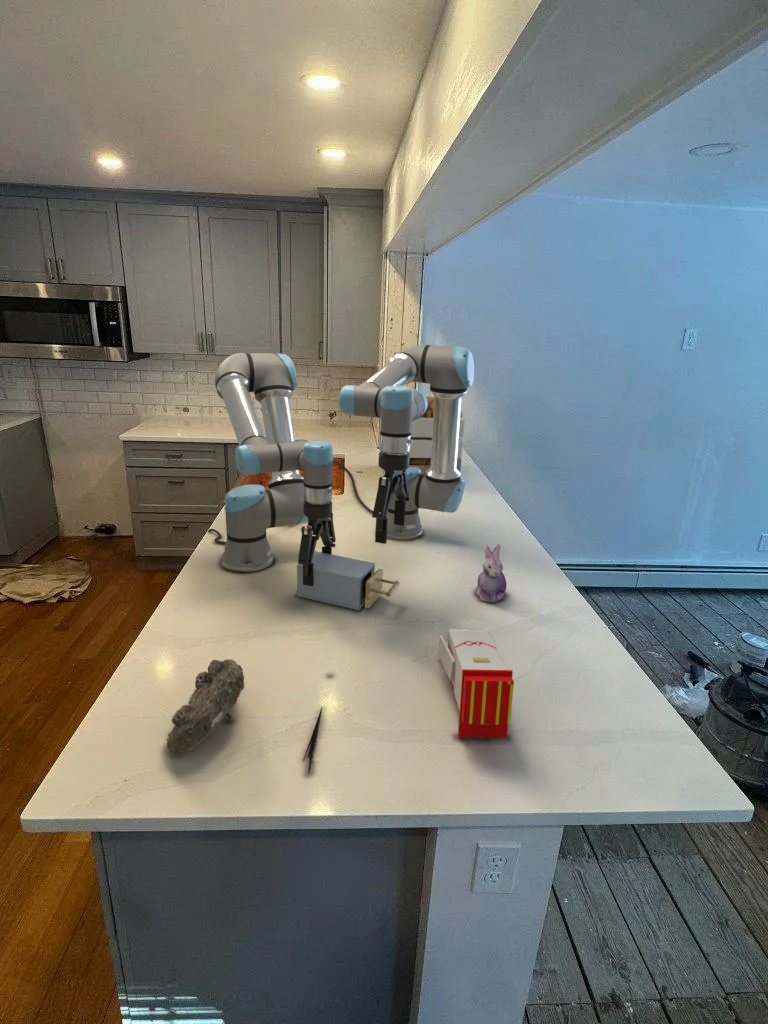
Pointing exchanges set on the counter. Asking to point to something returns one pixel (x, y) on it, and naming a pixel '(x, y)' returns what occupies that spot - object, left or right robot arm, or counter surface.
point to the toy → (478, 682)
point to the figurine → (491, 577)
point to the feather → (313, 740)
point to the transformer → (428, 438)
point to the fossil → (206, 705)
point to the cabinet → (335, 580)
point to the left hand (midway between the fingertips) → (317, 576)
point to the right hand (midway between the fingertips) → (390, 533)
